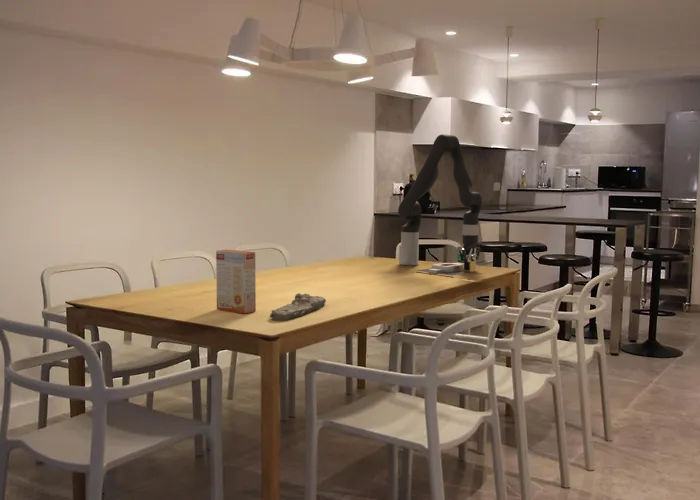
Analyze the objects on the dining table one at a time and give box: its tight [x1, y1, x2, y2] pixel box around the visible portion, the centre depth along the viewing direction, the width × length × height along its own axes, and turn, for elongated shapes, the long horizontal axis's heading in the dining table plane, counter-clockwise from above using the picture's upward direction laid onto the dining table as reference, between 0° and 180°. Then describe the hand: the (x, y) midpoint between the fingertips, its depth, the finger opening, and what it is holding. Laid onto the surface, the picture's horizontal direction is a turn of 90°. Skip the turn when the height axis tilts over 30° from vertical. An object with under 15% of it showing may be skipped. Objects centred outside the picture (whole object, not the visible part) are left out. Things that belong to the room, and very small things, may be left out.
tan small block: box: [464, 260, 477, 273], centre depth 349 cm, size 4×4×5 cm
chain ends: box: [427, 262, 464, 275], centre depth 350 cm, size 9×22×3 cm, turn 133°
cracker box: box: [215, 249, 257, 315], centre depth 250 cm, size 14×6×21 cm, turn 51°
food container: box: [455, 246, 471, 263], centre depth 373 cm, size 12×6×10 cm, turn 25°
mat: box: [415, 267, 479, 278], centre depth 350 cm, size 22×20×1 cm
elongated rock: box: [269, 292, 327, 322], centre depth 250 cm, size 35×5×10 cm
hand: (469, 269), depth 349 cm, fingers closed on tan small block, 4 cm apart
